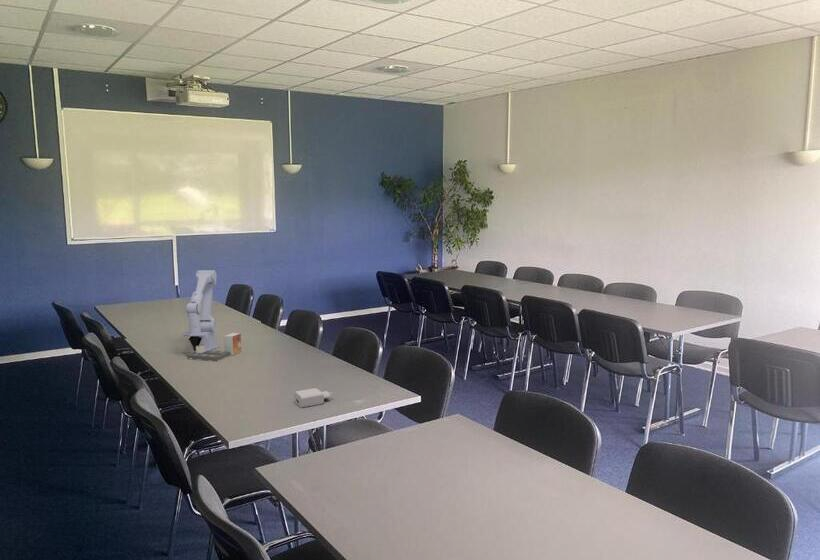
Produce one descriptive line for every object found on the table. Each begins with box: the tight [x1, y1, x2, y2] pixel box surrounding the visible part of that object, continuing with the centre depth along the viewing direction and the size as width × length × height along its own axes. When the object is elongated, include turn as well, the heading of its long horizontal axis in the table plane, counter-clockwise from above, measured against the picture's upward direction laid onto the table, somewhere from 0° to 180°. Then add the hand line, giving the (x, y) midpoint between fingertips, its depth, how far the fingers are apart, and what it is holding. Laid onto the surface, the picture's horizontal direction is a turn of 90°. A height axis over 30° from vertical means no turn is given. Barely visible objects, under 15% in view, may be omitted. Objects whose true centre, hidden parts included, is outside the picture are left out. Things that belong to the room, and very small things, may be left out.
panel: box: [186, 349, 231, 362], centre depth 316 cm, size 12×18×2 cm, turn 73°
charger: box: [293, 387, 334, 408], centre depth 244 cm, size 5×9×15 cm
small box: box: [223, 332, 242, 356], centre depth 323 cm, size 8×6×10 cm
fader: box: [195, 344, 206, 353], centre depth 317 cm, size 4×3×4 cm
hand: (196, 350), depth 318 cm, fingers closed
